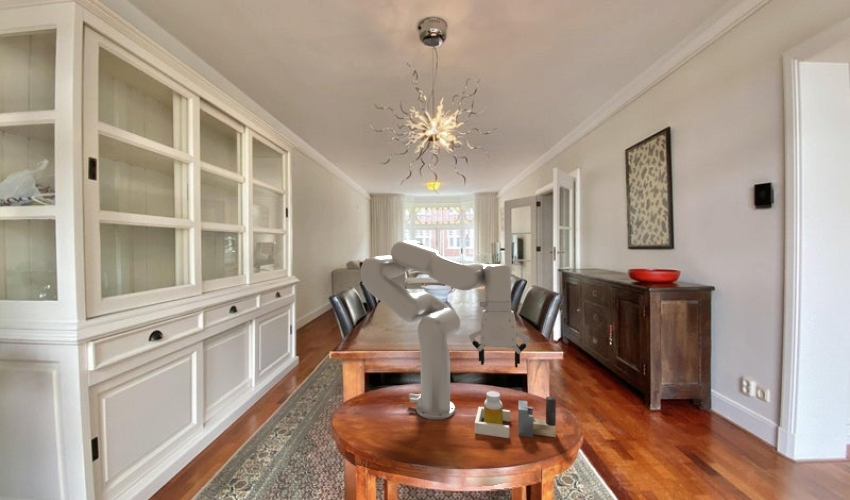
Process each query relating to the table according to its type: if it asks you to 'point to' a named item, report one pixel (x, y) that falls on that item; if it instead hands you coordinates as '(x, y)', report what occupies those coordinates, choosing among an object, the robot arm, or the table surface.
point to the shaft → (547, 420)
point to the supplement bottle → (493, 408)
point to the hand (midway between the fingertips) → (499, 364)
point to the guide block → (525, 419)
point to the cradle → (492, 425)
